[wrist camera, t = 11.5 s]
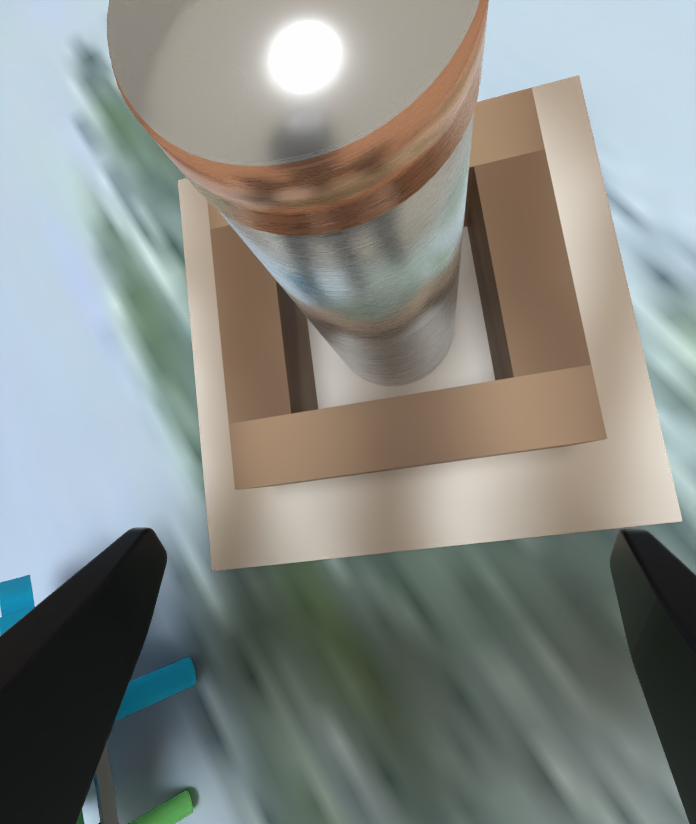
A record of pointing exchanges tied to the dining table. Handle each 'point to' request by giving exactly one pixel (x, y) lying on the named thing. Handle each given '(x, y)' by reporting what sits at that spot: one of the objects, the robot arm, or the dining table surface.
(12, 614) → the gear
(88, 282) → the dining table surface
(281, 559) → the socket
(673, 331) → the dining table surface
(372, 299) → the grey topped cylinder
